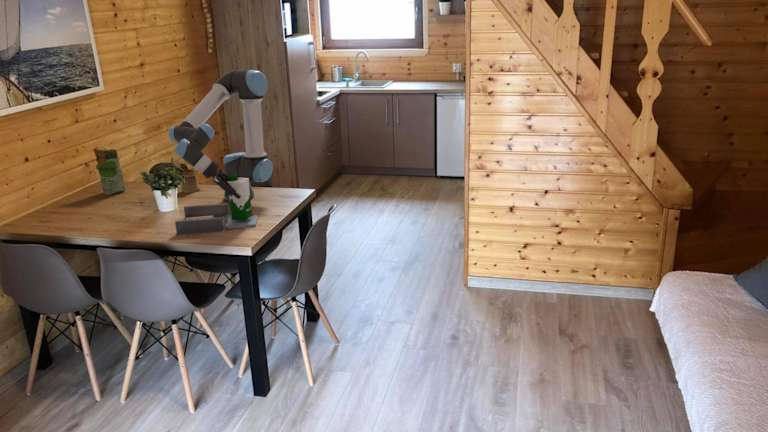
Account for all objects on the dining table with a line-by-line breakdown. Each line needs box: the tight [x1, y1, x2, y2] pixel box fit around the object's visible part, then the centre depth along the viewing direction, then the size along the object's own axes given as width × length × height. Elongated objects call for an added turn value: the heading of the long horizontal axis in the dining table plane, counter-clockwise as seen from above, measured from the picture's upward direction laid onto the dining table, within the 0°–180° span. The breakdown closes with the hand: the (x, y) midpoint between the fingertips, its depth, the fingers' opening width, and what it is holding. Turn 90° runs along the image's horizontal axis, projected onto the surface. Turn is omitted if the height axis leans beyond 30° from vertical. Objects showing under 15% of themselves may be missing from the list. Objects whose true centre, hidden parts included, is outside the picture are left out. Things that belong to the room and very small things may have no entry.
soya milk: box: [227, 174, 253, 220], centre depth 286 cm, size 9×9×20 cm
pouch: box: [92, 148, 126, 195], centre depth 340 cm, size 11×12×25 cm
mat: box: [225, 214, 259, 229], centre depth 290 cm, size 13×13×1 cm
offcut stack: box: [185, 215, 215, 220], centre depth 284 cm, size 6×16×5 cm, turn 96°
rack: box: [174, 202, 230, 236], centre depth 288 cm, size 22×20×6 cm
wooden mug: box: [170, 157, 200, 194], centre depth 340 cm, size 9×14×18 cm, turn 78°
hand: (247, 198), depth 287 cm, fingers closed on soya milk, 9 cm apart
